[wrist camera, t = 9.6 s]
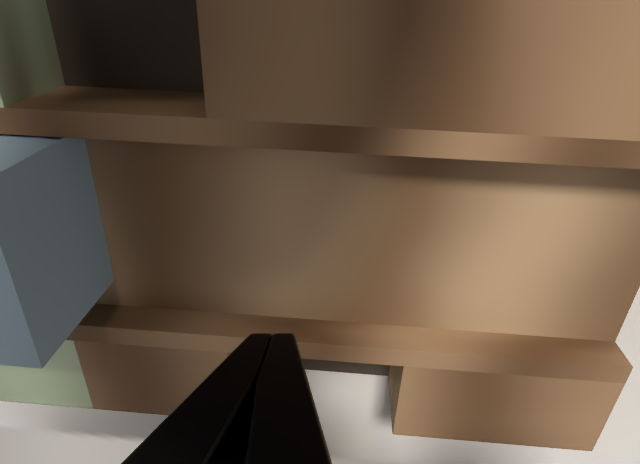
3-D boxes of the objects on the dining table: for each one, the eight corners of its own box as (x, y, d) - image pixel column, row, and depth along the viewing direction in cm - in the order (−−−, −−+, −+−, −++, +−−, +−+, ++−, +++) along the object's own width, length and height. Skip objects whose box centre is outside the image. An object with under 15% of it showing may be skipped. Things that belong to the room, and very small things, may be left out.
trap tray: (716, -15, 10) (902, -11, 7) (559, 385, 16) (614, 496, 13) (-510, -59, 12) (-879, -75, 8) (-241, 322, 18) (-388, 406, 14)
